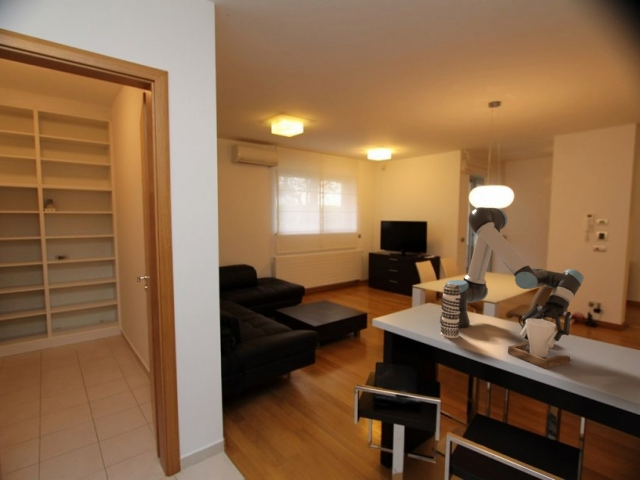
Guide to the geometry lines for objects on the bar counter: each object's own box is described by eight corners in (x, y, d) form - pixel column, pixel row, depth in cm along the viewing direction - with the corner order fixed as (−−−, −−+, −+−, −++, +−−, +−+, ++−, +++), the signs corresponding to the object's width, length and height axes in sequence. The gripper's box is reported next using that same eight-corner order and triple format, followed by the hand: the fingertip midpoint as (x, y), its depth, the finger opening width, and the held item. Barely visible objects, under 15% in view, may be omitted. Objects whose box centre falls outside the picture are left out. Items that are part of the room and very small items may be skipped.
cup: (560, 359, 130) (562, 326, 129) (536, 359, 129) (538, 326, 128) (540, 348, 140) (542, 318, 139) (517, 349, 139) (519, 318, 138)
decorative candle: (455, 332, 163) (458, 283, 162) (462, 338, 154) (465, 287, 152) (437, 331, 164) (439, 282, 162) (443, 337, 155) (445, 286, 153)
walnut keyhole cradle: (504, 351, 139) (504, 345, 139) (523, 347, 145) (524, 340, 145) (550, 370, 122) (551, 362, 122) (570, 364, 128) (571, 356, 128)
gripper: (594, 312, 130) (569, 356, 124) (535, 299, 150) (511, 336, 144) (588, 300, 127) (563, 345, 121) (528, 289, 148) (504, 326, 142)
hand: (535, 340), depth 133 cm, fingers closed on cup, 10 cm apart
